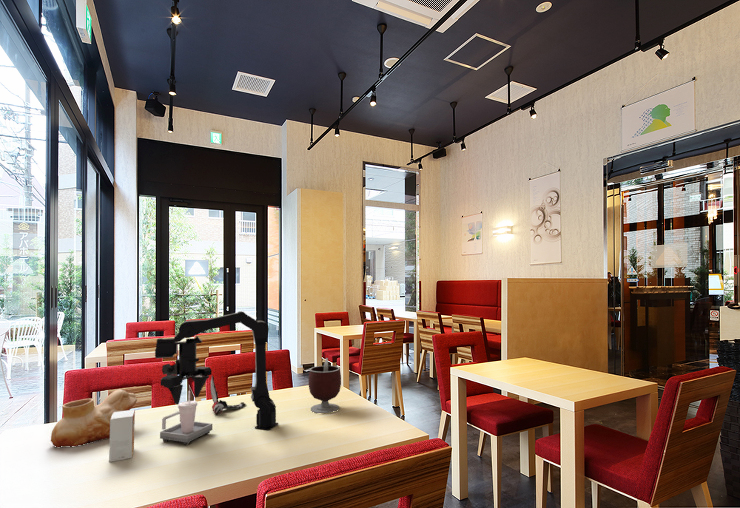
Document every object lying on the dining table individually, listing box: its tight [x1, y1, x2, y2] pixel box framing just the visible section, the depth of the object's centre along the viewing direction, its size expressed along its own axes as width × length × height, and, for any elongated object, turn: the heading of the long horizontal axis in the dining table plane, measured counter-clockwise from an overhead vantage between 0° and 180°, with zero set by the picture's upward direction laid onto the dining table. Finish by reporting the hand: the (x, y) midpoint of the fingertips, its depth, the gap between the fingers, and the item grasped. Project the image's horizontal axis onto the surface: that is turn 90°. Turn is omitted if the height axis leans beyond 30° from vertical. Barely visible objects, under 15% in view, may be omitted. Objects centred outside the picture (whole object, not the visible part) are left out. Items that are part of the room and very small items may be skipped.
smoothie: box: [177, 390, 198, 433], centre depth 145 cm, size 6×6×14 cm
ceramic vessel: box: [50, 388, 138, 448], centre depth 148 cm, size 14×26×15 cm, turn 137°
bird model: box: [210, 375, 247, 417], centre depth 174 cm, size 20×14×15 cm
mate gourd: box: [308, 357, 342, 414], centre depth 176 cm, size 16×14×20 cm
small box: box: [108, 409, 136, 463], centre depth 131 cm, size 8×6×13 cm
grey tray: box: [159, 410, 213, 446], centre depth 145 cm, size 13×12×8 cm
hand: (187, 400), depth 146 cm, fingers open, 9 cm apart
